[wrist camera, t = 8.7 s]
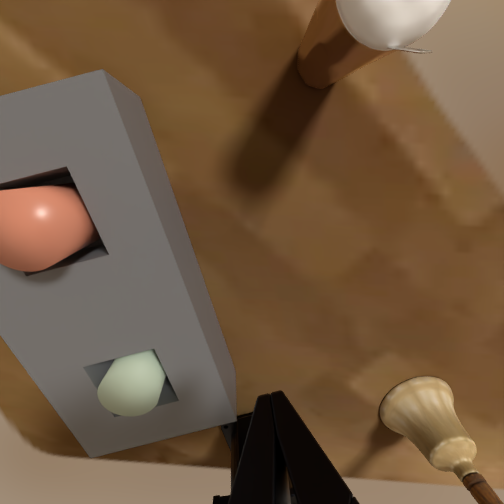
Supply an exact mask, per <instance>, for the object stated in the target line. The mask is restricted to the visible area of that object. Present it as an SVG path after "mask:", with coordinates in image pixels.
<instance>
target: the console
mask: <svg viewBox="0 0 504 504" xmlns="http://www.w3.org/2000/svg"><path fill="white" fill-rule="evenodd" d="M65 183H75V184H76V187H77V189H78V191H79V193H80V195H81V197H82V199H83V201H84V203H85V205H86V207H87V210H88V212H89V214H90V216H91V218H92V220H93V222H94V224H95V226H96V228H97V230H98V232H99V235H100V237H101V238H100V239H98V240H97V241H95V242H93V243H91V244H89V245H88V246H86V247H84V248H82V249H81V250H79V251H77V252H75V253H73V254H72V255H70V256H68V257H66V258H64V259H63V260H61V261H59V262H57V263H56V264H54V265H52V266H50V267H48V268H46V269H43V270H40V271H33V272H27V271H19V270H15V269H12V268H9V267H6V266H4V265H2V264H0V335H1V337H2V338H3V340H4V341H5V342H6V344H7V345H8V346H9V348H10V349H11V350H12V352H13V353H14V355H15V356H16V357H17V359H18V360H19V361H20V363H21V364H22V365H23V367H24V368H25V370H26V371H27V372H28V374H29V375H30V376H31V378H32V379H33V380H34V382H35V383H36V385H37V386H38V387H39V389H40V390H41V391H42V393H43V394H44V395H45V397H46V398H47V399H48V401H49V402H50V404H51V405H52V406H53V408H54V409H55V410H56V412H57V413H58V414H59V416H60V417H61V419H62V420H63V421H64V423H65V424H66V425H67V427H68V428H69V429H70V431H71V432H72V434H73V435H74V436H75V438H76V439H77V440H78V442H79V443H80V444H81V446H82V447H83V449H84V450H85V451H86V453H87V454H88V455H89V457H90V458H94V457H98V456H102V455H106V454H110V453H114V452H117V451H121V450H125V449H129V448H133V447H137V446H141V445H145V444H149V443H153V442H157V441H161V440H165V439H168V438H172V437H176V436H180V435H184V434H188V433H192V432H196V431H200V430H204V429H208V428H212V427H215V426H219V425H223V424H227V423H231V422H235V421H237V409H236V371H235V368H234V365H233V362H232V360H231V357H230V354H229V351H228V348H227V345H226V342H225V340H224V337H223V334H222V331H221V328H220V325H219V322H218V319H217V317H216V314H215V311H214V308H213V305H212V302H211V299H210V296H209V294H208V291H207V288H206V285H205V282H204V279H203V276H202V274H201V271H200V268H199V265H198V262H197V259H196V256H195V253H194V251H193V248H192V245H191V242H190V239H189V236H188V233H187V231H186V228H185V225H184V222H183V219H182V216H181V213H180V210H179V208H178V205H177V202H176V199H175V196H174V193H173V190H172V188H171V185H170V182H169V179H168V176H167V173H166V170H165V167H164V165H163V162H162V159H161V156H160V153H159V150H158V147H157V145H156V142H155V139H154V136H153V133H152V130H151V127H150V124H149V122H148V119H147V116H146V113H145V110H144V107H143V104H142V102H141V99H140V97H139V96H138V95H136V94H135V93H134V92H132V91H131V90H130V89H128V88H127V87H126V86H124V85H123V84H122V83H120V82H119V81H118V80H116V79H115V78H114V77H112V76H111V75H110V74H108V73H107V72H106V71H104V70H103V69H101V70H97V71H93V72H90V73H86V74H82V75H78V76H74V77H71V78H67V79H63V80H59V81H56V82H52V83H48V84H44V85H40V86H37V87H33V88H29V89H25V90H21V91H18V92H14V93H10V94H6V95H2V96H0V191H1V190H10V189H19V188H29V187H38V186H47V185H56V184H65ZM151 349H155V351H156V354H157V356H158V358H159V360H160V362H161V364H162V366H163V368H164V370H165V372H166V377H165V381H164V384H163V387H162V390H161V393H160V397H159V400H158V403H157V405H156V406H155V407H154V408H153V409H152V410H151V411H149V412H147V413H145V414H143V415H139V416H121V415H117V414H115V413H112V412H110V411H109V410H107V409H106V408H105V407H104V406H103V405H102V404H101V403H100V401H99V399H98V395H97V391H98V387H99V385H100V383H101V381H102V380H103V378H104V376H105V375H106V373H107V371H108V370H109V368H110V366H111V365H112V363H113V361H114V360H115V359H116V358H120V357H124V356H128V355H132V354H135V353H139V352H143V351H147V350H151Z"/></svg>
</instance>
